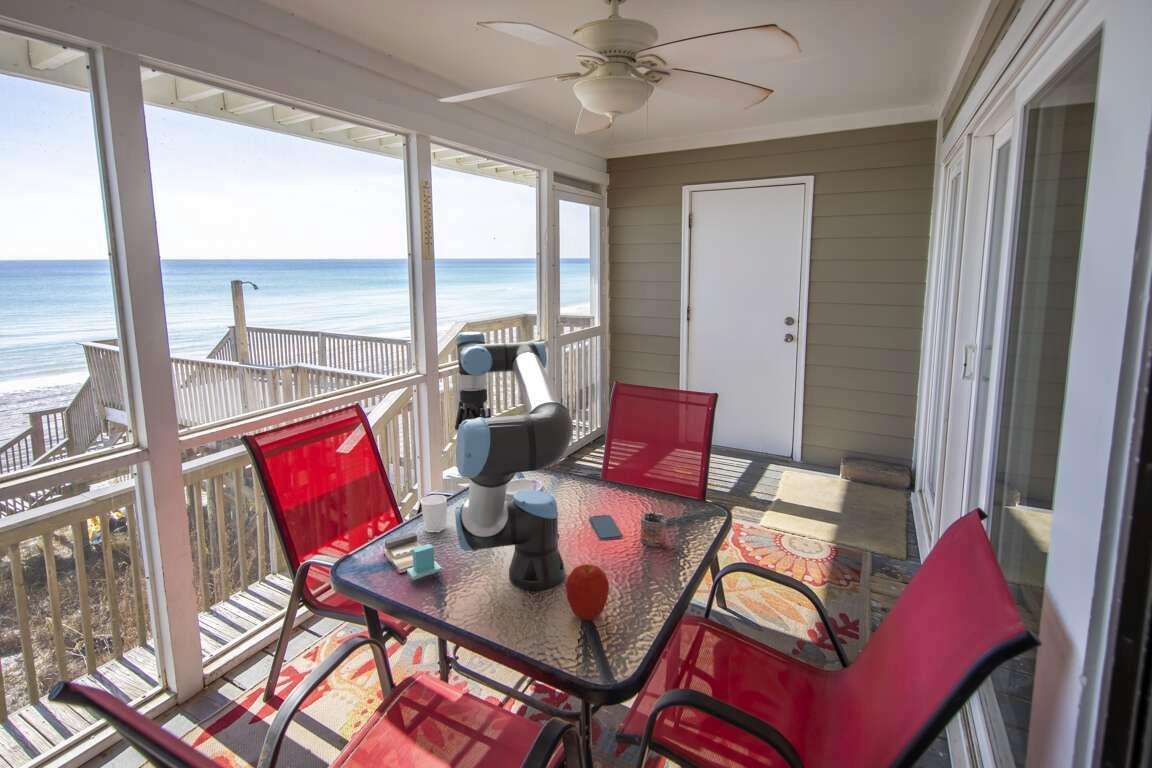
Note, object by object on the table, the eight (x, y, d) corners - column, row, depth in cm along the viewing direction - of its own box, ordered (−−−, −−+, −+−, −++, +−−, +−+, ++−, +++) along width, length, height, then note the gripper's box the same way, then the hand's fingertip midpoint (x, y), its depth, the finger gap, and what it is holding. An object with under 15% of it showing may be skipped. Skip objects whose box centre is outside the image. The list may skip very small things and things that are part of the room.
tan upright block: (638, 542, 178) (638, 512, 176) (642, 538, 181) (642, 507, 179) (663, 548, 174) (664, 517, 172) (667, 543, 177) (668, 512, 175)
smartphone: (599, 538, 180) (588, 516, 194) (599, 543, 180) (588, 521, 194) (623, 535, 181) (610, 514, 195) (623, 540, 181) (610, 518, 196)
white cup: (433, 536, 183) (432, 506, 181) (417, 529, 188) (415, 500, 186) (453, 527, 190) (451, 498, 188) (437, 521, 194) (435, 492, 192)
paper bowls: (494, 503, 208) (493, 481, 207) (534, 495, 215) (534, 474, 213) (508, 519, 195) (507, 497, 193) (550, 511, 201) (550, 489, 200)
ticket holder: (434, 563, 167) (433, 549, 166) (399, 574, 161) (398, 560, 160) (416, 544, 178) (415, 531, 177) (383, 554, 173) (382, 540, 172)
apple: (607, 603, 147) (607, 552, 144) (610, 627, 137) (610, 573, 134) (565, 604, 146) (564, 553, 144) (566, 629, 137) (565, 574, 134)
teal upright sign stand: (441, 570, 160) (440, 547, 158) (413, 579, 155) (411, 556, 154) (434, 562, 164) (433, 540, 162) (406, 571, 159) (404, 548, 158)
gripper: (508, 393, 156) (511, 469, 161) (463, 379, 175) (467, 447, 180) (484, 397, 152) (487, 475, 156) (440, 383, 171) (444, 452, 175)
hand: (476, 460), depth 168 cm, fingers open, 13 cm apart
